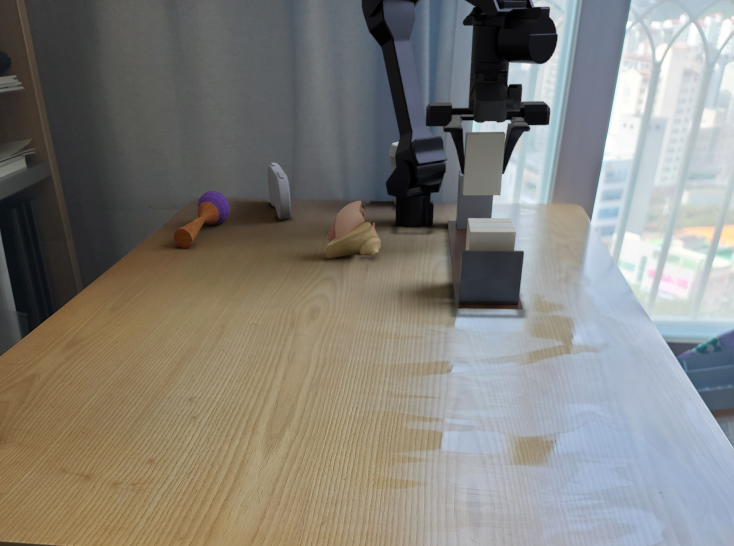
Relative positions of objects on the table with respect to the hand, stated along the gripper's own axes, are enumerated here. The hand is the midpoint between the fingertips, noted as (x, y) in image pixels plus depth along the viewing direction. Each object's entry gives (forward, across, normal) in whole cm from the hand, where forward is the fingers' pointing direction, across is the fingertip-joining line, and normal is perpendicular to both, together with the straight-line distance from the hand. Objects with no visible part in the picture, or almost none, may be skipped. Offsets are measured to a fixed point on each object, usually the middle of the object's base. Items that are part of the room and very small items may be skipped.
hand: (482, 173), depth 120 cm
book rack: (+12, 0, -8) cm, 15 cm away
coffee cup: (+12, -12, +30) cm, 35 cm away
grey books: (+11, 0, +12) cm, 16 cm away
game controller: (+12, -38, +27) cm, 48 cm away
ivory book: (+3, 0, 0) cm, 3 cm away
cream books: (+11, 0, -25) cm, 27 cm away
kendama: (+12, -50, +10) cm, 52 cm away
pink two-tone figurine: (+12, -21, -4) cm, 25 cm away
